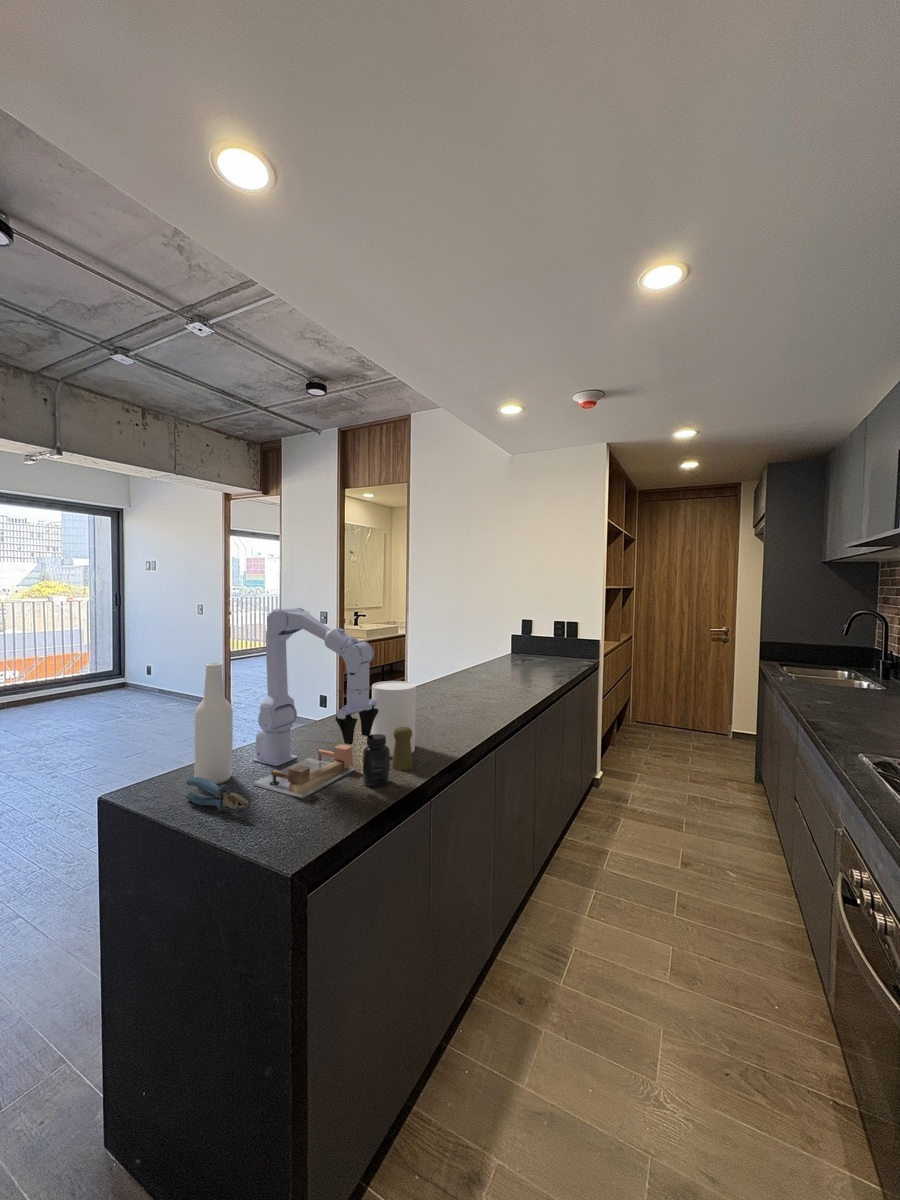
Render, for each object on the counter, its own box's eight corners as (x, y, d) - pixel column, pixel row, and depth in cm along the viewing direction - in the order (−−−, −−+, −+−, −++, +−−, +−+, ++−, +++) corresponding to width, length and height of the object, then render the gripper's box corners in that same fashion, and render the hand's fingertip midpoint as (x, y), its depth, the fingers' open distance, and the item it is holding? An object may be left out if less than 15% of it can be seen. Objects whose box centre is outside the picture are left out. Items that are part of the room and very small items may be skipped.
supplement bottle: (393, 779, 128) (394, 734, 127) (382, 789, 121) (382, 742, 121) (370, 775, 130) (371, 731, 130) (357, 785, 124) (358, 738, 123)
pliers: (251, 818, 106) (251, 791, 106) (242, 822, 104) (243, 794, 104) (193, 797, 115) (193, 772, 115) (184, 801, 113) (184, 775, 113)
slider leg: (315, 761, 136) (315, 743, 136) (322, 758, 139) (322, 740, 139) (345, 768, 132) (345, 749, 132) (352, 764, 134) (352, 746, 134)
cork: (391, 762, 140) (392, 724, 140) (413, 762, 141) (413, 724, 140) (391, 770, 134) (391, 730, 134) (413, 770, 135) (413, 730, 134)
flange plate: (253, 785, 123) (253, 781, 123) (308, 760, 141) (308, 757, 141) (302, 798, 116) (302, 794, 116) (353, 770, 134) (354, 767, 134)
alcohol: (213, 771, 131) (213, 660, 131) (239, 775, 129) (240, 662, 128) (186, 783, 123) (186, 665, 122) (214, 788, 120) (214, 667, 120)
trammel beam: (267, 785, 121) (267, 765, 120) (321, 760, 139) (321, 742, 138) (299, 794, 116) (299, 772, 116) (351, 766, 134) (351, 748, 134)
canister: (423, 747, 154) (424, 684, 153) (396, 759, 142) (397, 691, 142) (390, 739, 161) (391, 679, 160) (361, 750, 150) (362, 686, 149)
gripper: (353, 695, 120) (352, 750, 120) (386, 685, 133) (385, 734, 133) (330, 692, 123) (330, 745, 123) (364, 682, 136) (364, 730, 137)
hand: (357, 739), depth 129 cm, fingers open, 7 cm apart
